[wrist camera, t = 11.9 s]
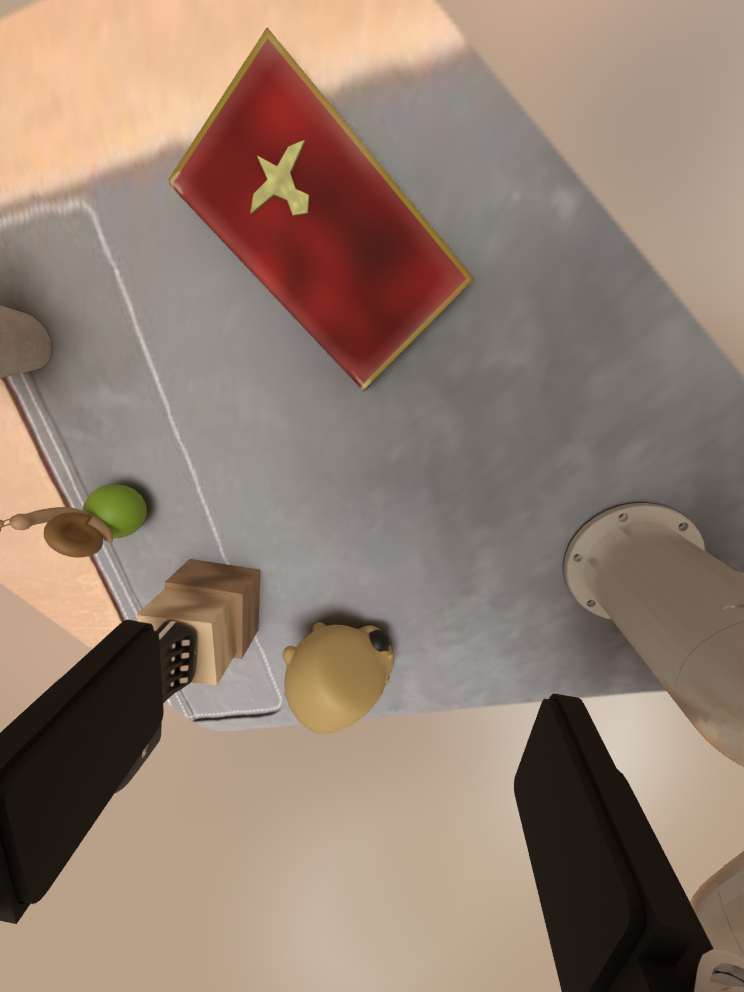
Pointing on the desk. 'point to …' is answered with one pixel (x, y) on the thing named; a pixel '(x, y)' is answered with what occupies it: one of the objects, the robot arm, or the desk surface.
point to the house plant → (22, 343)
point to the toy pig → (336, 675)
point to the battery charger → (170, 674)
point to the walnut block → (225, 593)
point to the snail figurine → (88, 521)
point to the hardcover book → (316, 216)
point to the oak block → (199, 627)
